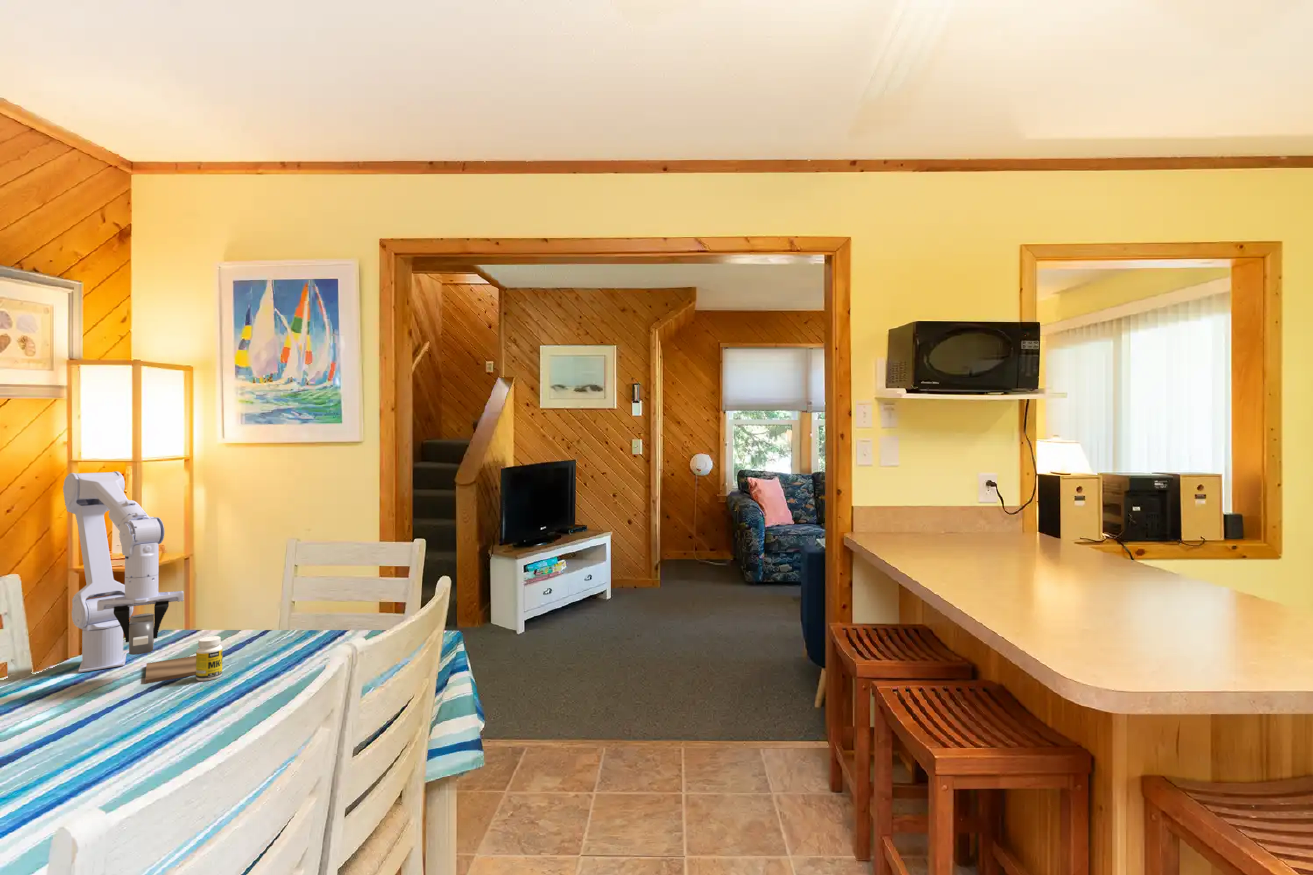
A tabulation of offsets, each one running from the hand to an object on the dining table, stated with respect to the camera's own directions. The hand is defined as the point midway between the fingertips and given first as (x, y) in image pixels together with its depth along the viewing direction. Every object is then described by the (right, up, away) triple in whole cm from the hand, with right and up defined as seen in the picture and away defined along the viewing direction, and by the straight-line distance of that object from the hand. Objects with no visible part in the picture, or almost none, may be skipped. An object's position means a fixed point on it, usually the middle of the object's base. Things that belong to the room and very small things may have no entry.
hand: (141, 639), depth 143 cm
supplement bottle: (+13, -9, +2) cm, 16 cm away
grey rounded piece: (0, -2, 0) cm, 2 cm away
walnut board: (+3, -9, +7) cm, 11 cm away
